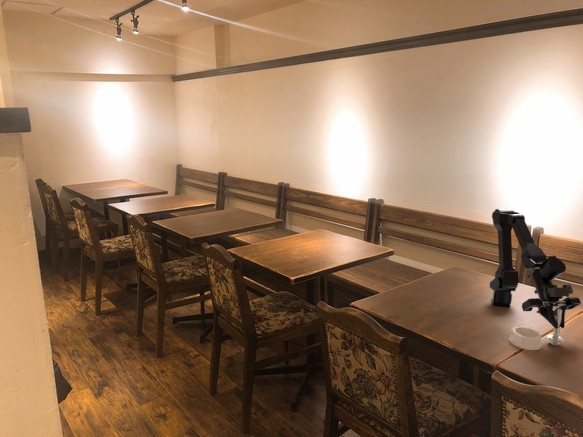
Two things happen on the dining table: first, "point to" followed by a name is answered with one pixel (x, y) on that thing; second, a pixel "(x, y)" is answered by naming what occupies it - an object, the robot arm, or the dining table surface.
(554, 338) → the screw
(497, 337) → the dining table surface
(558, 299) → the robot arm
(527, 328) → the white pet bowl
